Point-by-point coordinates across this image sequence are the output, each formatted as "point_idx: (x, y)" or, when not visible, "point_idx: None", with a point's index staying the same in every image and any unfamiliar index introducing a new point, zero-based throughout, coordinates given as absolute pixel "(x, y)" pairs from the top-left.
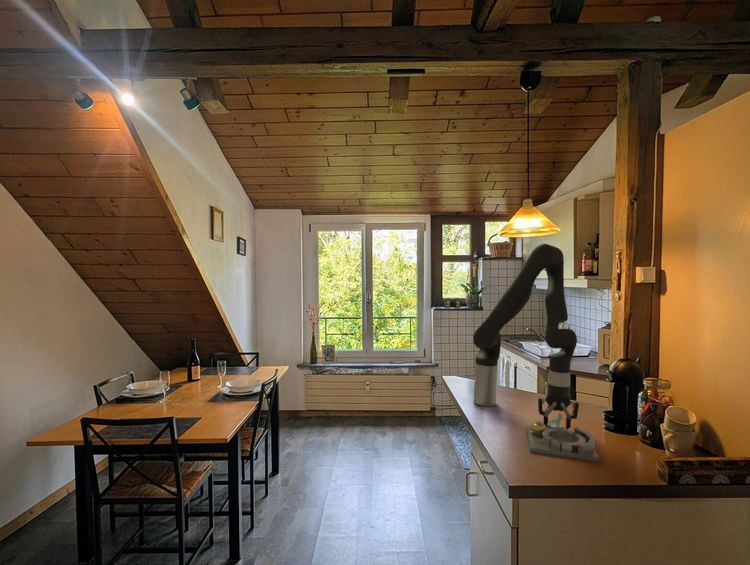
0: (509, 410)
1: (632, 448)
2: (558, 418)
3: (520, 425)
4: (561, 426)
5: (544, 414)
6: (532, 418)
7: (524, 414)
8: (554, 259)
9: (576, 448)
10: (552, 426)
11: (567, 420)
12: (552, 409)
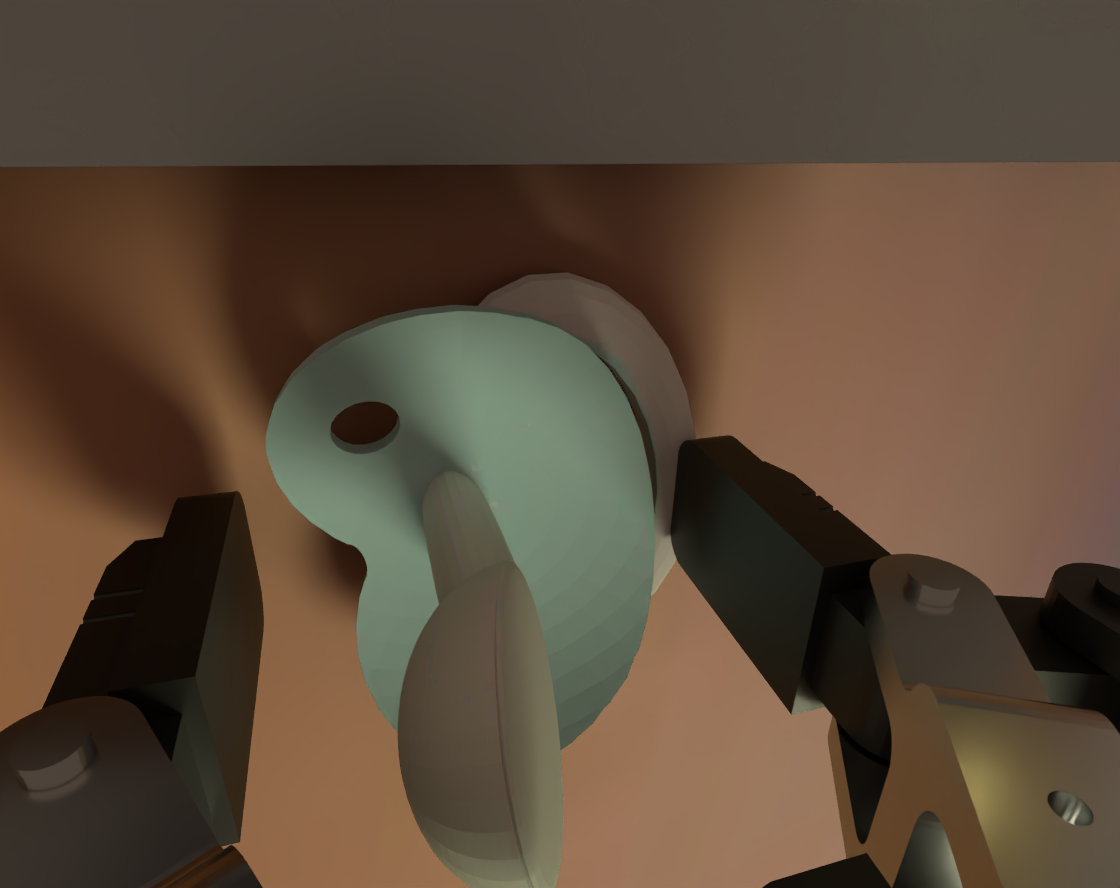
0: None
1: None
2: (518, 627)
3: (1100, 381)
4: (363, 593)
5: (987, 608)
6: (804, 756)
7: None
8: None
9: None
10: (580, 492)
11: (174, 663)
12: (1003, 838)
